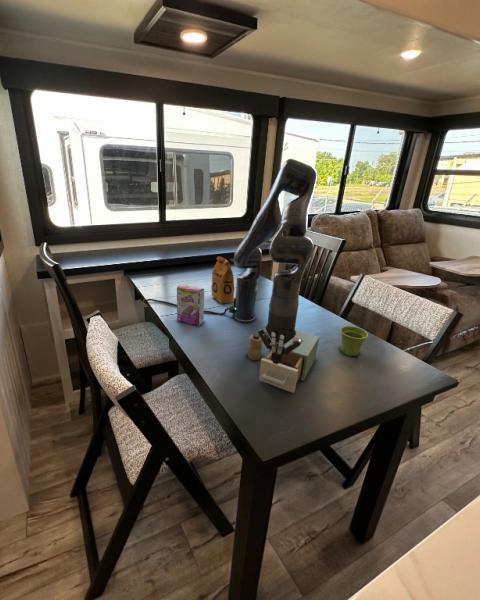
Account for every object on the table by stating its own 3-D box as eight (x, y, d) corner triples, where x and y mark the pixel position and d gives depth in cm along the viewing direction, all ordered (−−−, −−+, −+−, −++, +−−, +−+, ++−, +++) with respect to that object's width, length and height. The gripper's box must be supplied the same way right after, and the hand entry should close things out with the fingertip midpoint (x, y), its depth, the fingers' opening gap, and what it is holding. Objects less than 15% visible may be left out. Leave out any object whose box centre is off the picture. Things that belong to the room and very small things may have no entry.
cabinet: (303, 381, 101) (307, 356, 97) (267, 368, 107) (269, 344, 103) (314, 359, 112) (319, 336, 109) (281, 349, 118) (284, 327, 115)
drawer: (288, 402, 90) (292, 380, 87) (252, 388, 96) (254, 367, 93) (306, 370, 105) (309, 351, 102) (274, 360, 110) (276, 341, 107)
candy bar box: (176, 321, 138) (175, 287, 132) (182, 316, 143) (181, 283, 136) (199, 326, 134) (199, 291, 128) (204, 322, 138) (204, 287, 132)
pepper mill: (245, 357, 113) (247, 336, 109) (251, 351, 117) (253, 330, 113) (257, 361, 111) (259, 339, 107) (262, 355, 114) (264, 334, 111)
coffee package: (218, 305, 155) (220, 263, 147) (209, 296, 166) (210, 256, 157) (236, 302, 159) (238, 261, 150) (226, 294, 169) (227, 254, 161)
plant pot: (361, 361, 112) (366, 341, 108) (333, 353, 116) (338, 333, 113) (364, 350, 119) (369, 330, 116) (338, 343, 124) (343, 323, 120)
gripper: (311, 310, 84) (302, 363, 91) (265, 299, 90) (260, 349, 97) (303, 320, 78) (294, 377, 85) (255, 308, 85) (250, 361, 91)
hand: (276, 362), depth 91 cm, fingers closed
